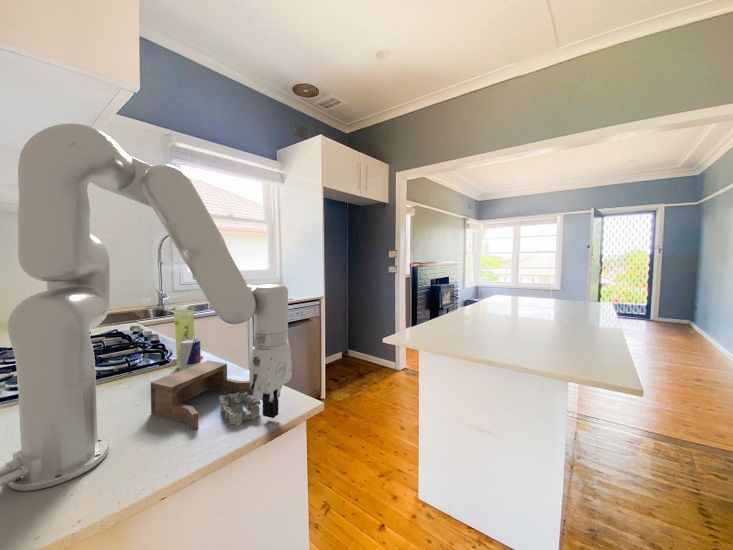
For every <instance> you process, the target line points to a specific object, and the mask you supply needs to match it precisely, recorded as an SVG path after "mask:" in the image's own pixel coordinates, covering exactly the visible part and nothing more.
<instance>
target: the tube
mask: <svg viewBox="0 0 733 550" xmlns="http://www.w3.org/2000/svg"><path fill="white" fill-rule="evenodd" d="M172 311H173V318H174V319H173V320H174V331H175V332H174V334H175V350H176V367H177V369H180V343H181V341H182V340H186V339H195V338H194V336H195V335H194V334H195V333H194V332H195V331H194V328H195V327H194V325H195V323H194V322H195V310H194V309H193V310H192V309H188V310H187V309H173V310H172Z"/></svg>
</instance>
